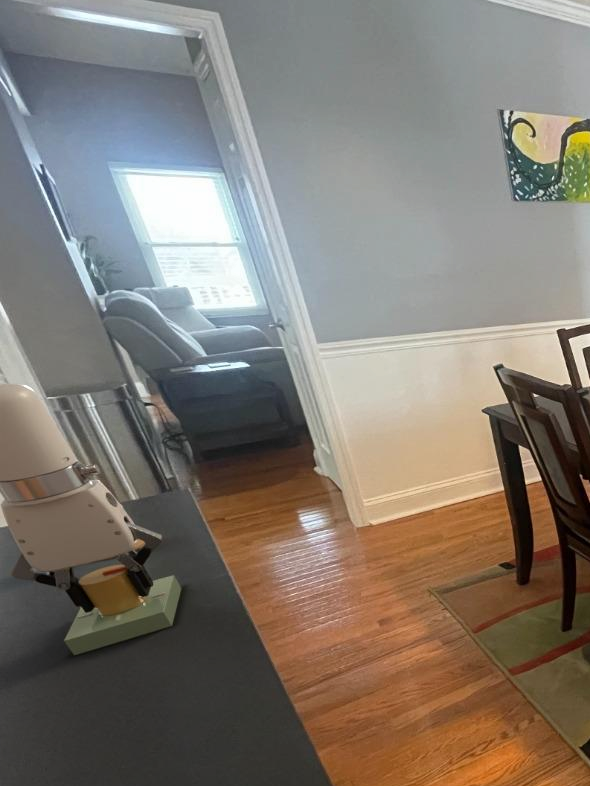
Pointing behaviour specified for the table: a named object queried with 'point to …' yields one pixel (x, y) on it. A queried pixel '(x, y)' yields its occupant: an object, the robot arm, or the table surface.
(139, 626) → the base
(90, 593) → the tap handle
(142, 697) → the table surface
